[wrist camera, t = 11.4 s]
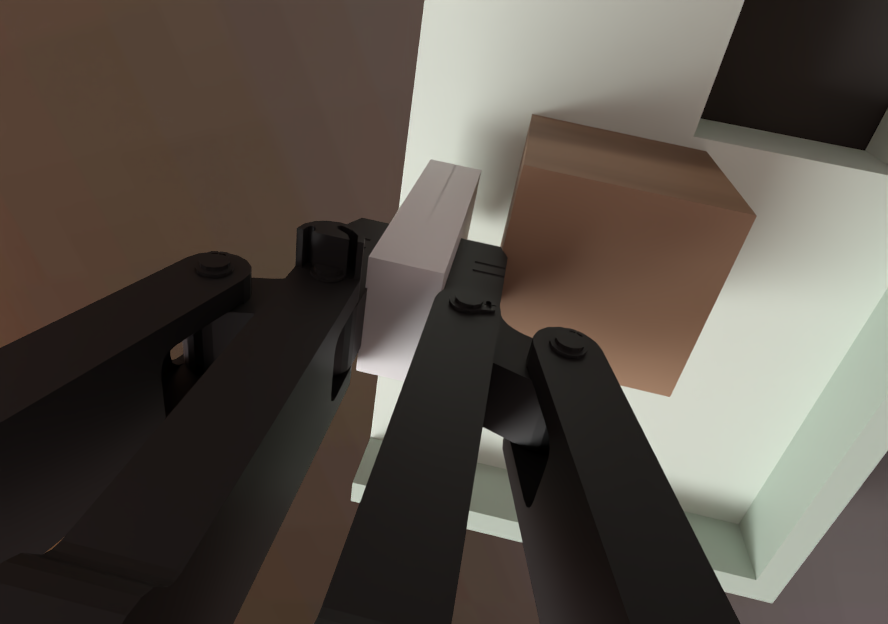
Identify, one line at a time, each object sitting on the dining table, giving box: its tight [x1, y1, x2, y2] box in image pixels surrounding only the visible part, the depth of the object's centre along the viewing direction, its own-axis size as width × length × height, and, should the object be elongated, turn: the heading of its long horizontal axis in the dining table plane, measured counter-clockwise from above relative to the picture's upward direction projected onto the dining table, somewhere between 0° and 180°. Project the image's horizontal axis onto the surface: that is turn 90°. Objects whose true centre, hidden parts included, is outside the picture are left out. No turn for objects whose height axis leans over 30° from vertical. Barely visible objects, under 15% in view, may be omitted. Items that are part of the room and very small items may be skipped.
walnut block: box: [500, 114, 757, 397], centre depth 16 cm, size 5×5×5 cm
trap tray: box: [351, 0, 888, 603], centre depth 18 cm, size 26×16×6 cm, turn 171°
